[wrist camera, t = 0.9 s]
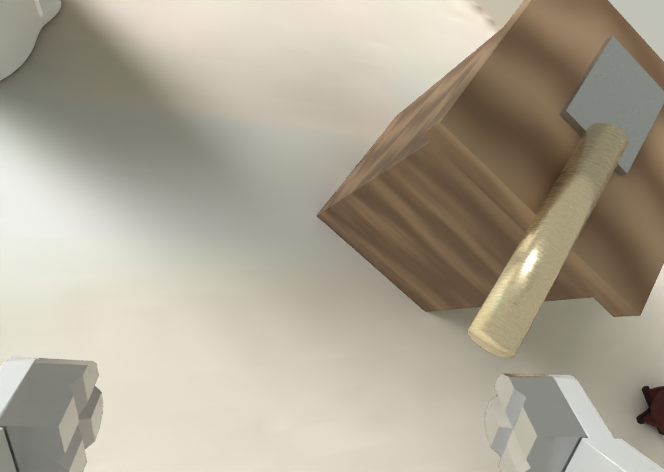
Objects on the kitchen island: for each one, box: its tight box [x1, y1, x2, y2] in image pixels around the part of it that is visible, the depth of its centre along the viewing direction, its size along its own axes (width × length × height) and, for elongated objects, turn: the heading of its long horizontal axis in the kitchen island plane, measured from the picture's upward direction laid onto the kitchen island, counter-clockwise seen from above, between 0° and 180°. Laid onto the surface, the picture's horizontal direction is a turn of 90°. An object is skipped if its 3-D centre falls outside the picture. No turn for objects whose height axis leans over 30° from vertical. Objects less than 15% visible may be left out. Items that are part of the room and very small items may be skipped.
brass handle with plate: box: [468, 36, 664, 358], centre depth 32 cm, size 24×6×3 cm, turn 142°
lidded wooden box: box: [317, 0, 664, 317], centre depth 47 cm, size 18×18×26 cm
